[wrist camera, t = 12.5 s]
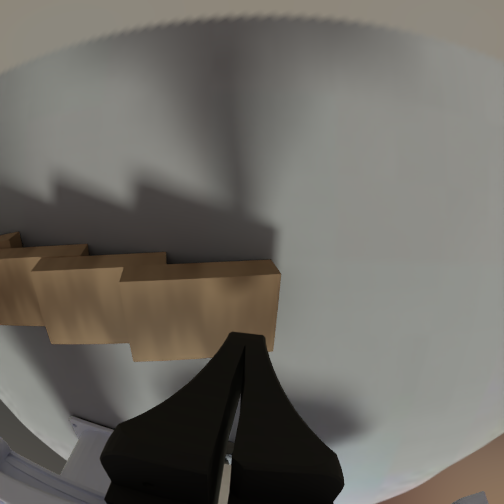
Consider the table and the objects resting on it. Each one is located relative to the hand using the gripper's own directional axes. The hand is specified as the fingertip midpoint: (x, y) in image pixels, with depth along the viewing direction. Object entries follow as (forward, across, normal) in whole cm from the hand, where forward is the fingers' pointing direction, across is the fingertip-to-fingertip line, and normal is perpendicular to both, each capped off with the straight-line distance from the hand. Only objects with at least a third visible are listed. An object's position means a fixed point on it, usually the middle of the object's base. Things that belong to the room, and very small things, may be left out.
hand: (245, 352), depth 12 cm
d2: (+4, +4, 0) cm, 6 cm away
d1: (+4, -1, 0) cm, 4 cm away
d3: (+4, +9, 0) cm, 10 cm away
